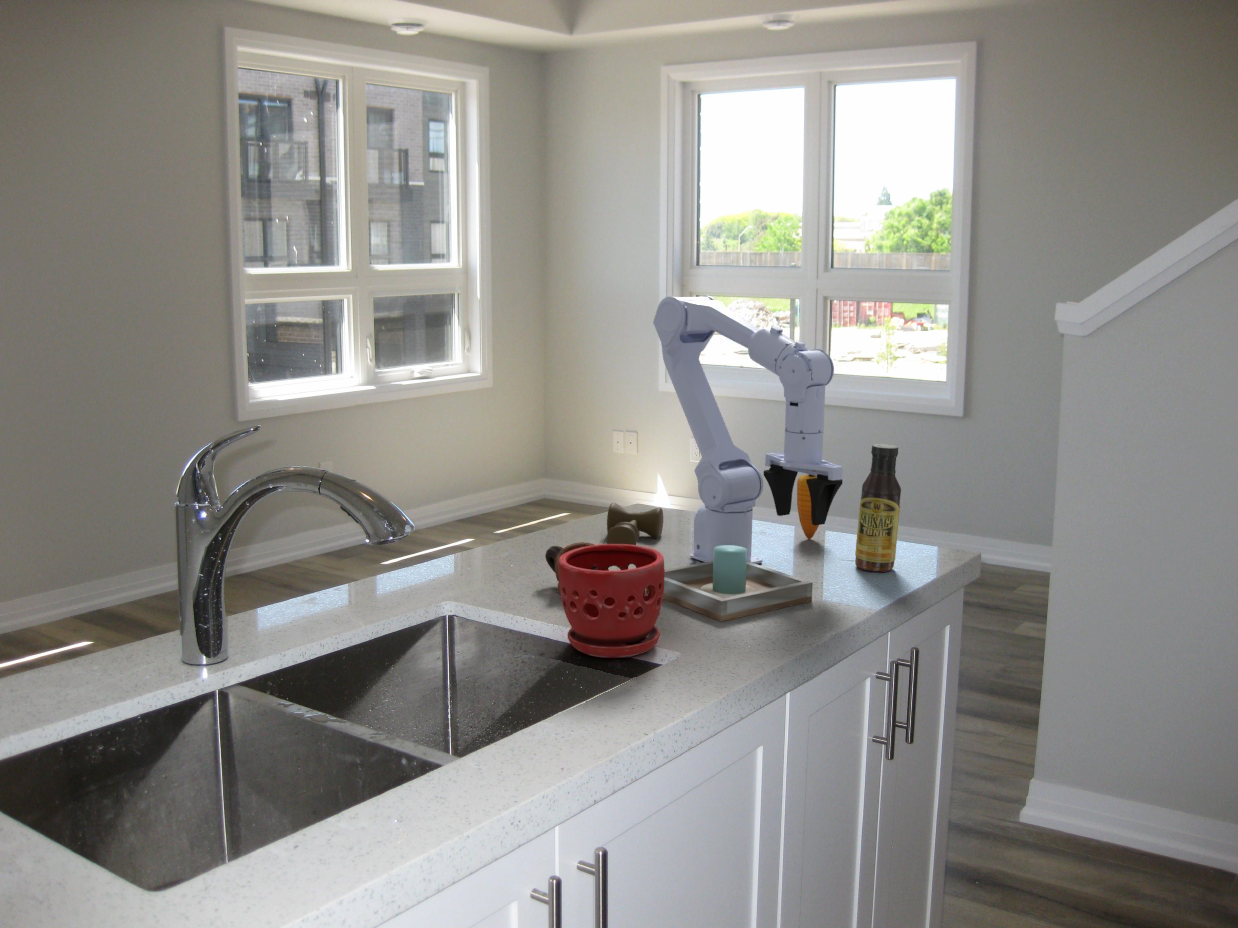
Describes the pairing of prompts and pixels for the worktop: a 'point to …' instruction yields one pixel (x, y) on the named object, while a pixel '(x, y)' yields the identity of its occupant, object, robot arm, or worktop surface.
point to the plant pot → (612, 598)
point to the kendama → (632, 524)
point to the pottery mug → (557, 552)
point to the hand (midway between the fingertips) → (800, 519)
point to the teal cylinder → (729, 569)
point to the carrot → (805, 506)
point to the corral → (760, 596)
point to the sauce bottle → (879, 512)
